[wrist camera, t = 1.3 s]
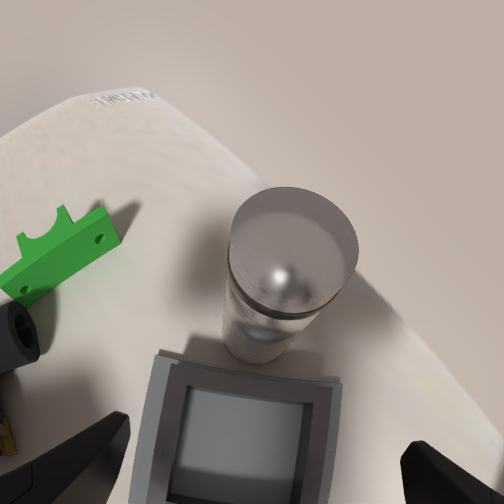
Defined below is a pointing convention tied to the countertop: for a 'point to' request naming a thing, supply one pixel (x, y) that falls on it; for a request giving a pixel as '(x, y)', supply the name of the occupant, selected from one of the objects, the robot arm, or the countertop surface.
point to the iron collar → (187, 378)
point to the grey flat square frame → (230, 443)
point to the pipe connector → (15, 354)
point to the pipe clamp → (58, 254)
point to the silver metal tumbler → (283, 269)
